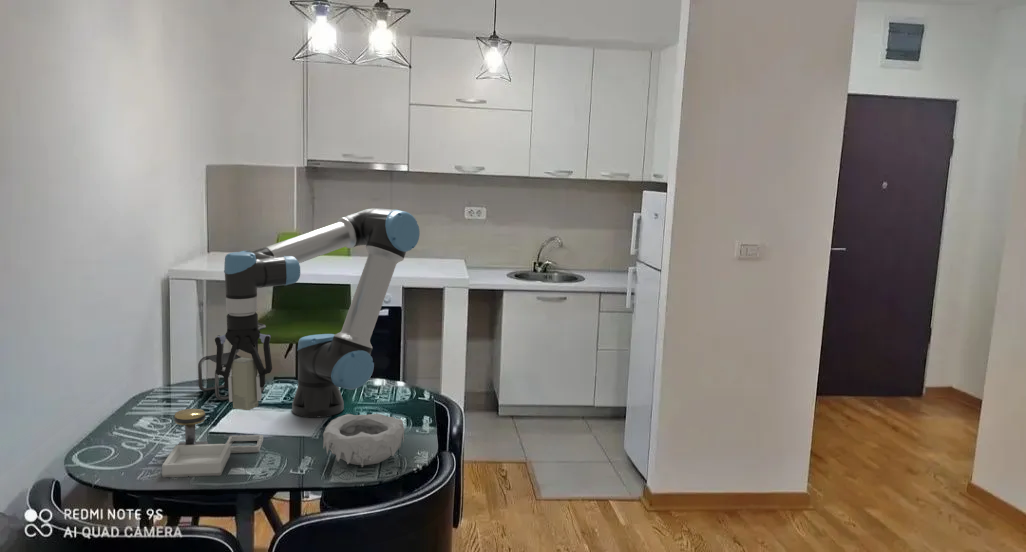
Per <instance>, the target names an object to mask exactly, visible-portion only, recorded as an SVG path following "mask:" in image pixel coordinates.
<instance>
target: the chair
mask: <svg viewBox="0 0 1026 552" xmlns="http://www.w3.org/2000/svg"><path fill="white" fill-rule="evenodd" d="M266 328H267V326H266V324H263V323H260V322H258V329H259V331H260V332H261V330H263V329H264V330H265V329H266ZM255 345H256V348H257V351H258V352H259V339H258V340H257V341H256V343H255ZM240 351H243V352H245V353H247V354H250V355H251V353H250V351H249V349H244V348H242V349H237V352H236V355H235V358H234V360H235V359H238V358H241V357H242V356H240V355H238V353H239V352H240ZM229 355H230V352H229V351H228V352H223V368H226V365H227V362H228V358H229ZM216 358H217V354H211V355H206V356H204V357H202V358H200V360H199V361H198V365H197V370H198V371H197V373H198V375H197V377H198V379H197V380H198V383H197V384H198V388H199V390H201V391H202V392H211V391H214V394H215V397H216V399H218V400H219V401H225V400H226V401H227V400H229V395H225V396H221V395H220V392H219V391H220V390H221V389H225V387H224V384H221V385H219V383H220V381H219V380H220V379H219V375H217V374H216V369H215V370H214V386H211V387H210V386H209V387H205V386H203V374H202V373H203V366H202V365H203V363H204V362H205V361H207V360H210V361H212V362H213V363H216ZM251 359H253V358H252V357H251ZM264 391H265V387H261V393H263V392H264Z"/></svg>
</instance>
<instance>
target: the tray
mask: <svg viewBox="0 0 1026 552" xmlns="http://www.w3.org/2000/svg"><path fill="white" fill-rule="evenodd" d="M230 457H231V453H230V444H226V443H208V444H200V445H178V444H176V445H175V446H174V447H173V449H172V450H171V452H170V453H169V454H168V456H167V457H166V459H165V461H164V462H163V463H162V465H161V468H162V469H161V470H162V471H161V474H162V478H185V477H186V478H187V477H188V476H189V477H211V476H212V477H214V476H221V475H222V473H223V471H224V470H225V468H226V465H227V463H228V461H229V459H230ZM189 477H188V478H189Z"/></svg>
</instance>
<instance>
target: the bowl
mask: <svg viewBox="0 0 1026 552" xmlns="http://www.w3.org/2000/svg"><path fill="white" fill-rule="evenodd" d="M322 436H323V439H322V440H323V441H322V442H323V445H322V446H323V447H322V449H323V450H326V454H327V455H328V454H329V451H331V453H332V454H333V455H334V456H335V461H337V462H339V461H340V459H341V460H342V461H344V462H346V463H347V465H349V464H350V465H356V466H360V467H361V468H363V467H364V466H371V465H376V464H380V463H381V462H384V461H385V460H388V459H389V458H390V457H391V456H392V457H394V456H395V454H396V452H397V451H398V450H399V449H400V450H401V446H402V443H403V444H404V440H405V426H404V422H403V419H401V418H396V417H393V416H387V415H384V414H382V413H372V414H371V413H368V414H357V415H355V414H352V413H347V414H344V415H340V416H337V417H335V418H334V419H331V420H330V422H328V424H327V425H326V427H325V428H324V431H323V433H322Z"/></svg>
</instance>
